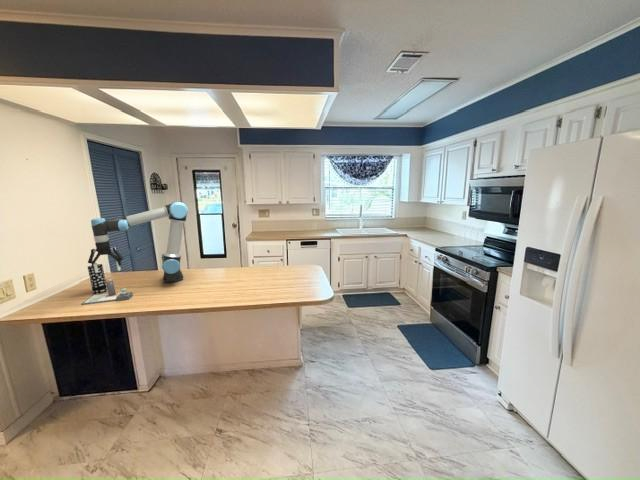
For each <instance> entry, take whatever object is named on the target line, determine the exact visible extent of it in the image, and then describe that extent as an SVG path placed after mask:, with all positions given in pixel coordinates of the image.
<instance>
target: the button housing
mask: <svg viewBox="0 0 640 480" xmlns="http://www.w3.org/2000/svg"><path fill="white" fill-rule="evenodd" d="M126 294H127V295H122V293H120V294H119V295H118V296H117V297H116V299H117V301H116V302H121V301H129V300H131V299H132V298H133V296H134V294H133V291H126Z"/></svg>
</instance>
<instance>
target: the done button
mask: <svg viewBox="0 0 640 480" xmlns="http://www.w3.org/2000/svg"><path fill="white" fill-rule="evenodd" d="M119 290H120V291H119V292H122V295H127V294H126V292H127V290H128V289H127V287H125V288H124V287H123V288H121V289H119Z"/></svg>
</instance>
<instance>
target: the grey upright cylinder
mask: <svg viewBox="0 0 640 480" xmlns="http://www.w3.org/2000/svg"><path fill="white" fill-rule="evenodd" d="M105 280H106V285H107V293H108V294H109V296H113V295H116V292H117V291H116V288H115V284H114V283H115V282H114V277H108V278H105Z"/></svg>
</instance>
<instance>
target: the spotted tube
mask: <svg viewBox="0 0 640 480" xmlns="http://www.w3.org/2000/svg"><path fill="white" fill-rule="evenodd" d="M97 267H98V272H97V273H95V269H94V268H93V267H92V264H91V265H88V266H87V271H88V276H89V279H90V284H91V285H90V286H91V289H92V295H98V294H105V293H106V292H108V289H107V285H106V280H105V279H106V276H105V272H104V266H103V264H101V263H100V264H99V263H97Z"/></svg>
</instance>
